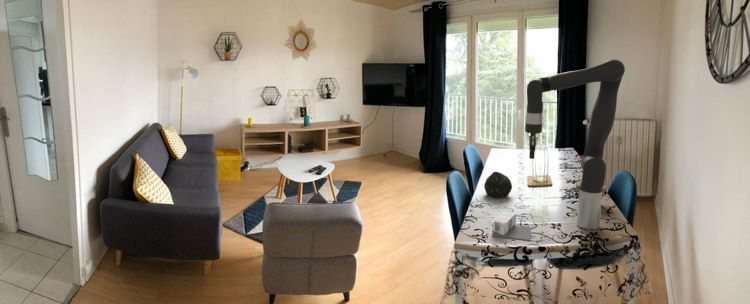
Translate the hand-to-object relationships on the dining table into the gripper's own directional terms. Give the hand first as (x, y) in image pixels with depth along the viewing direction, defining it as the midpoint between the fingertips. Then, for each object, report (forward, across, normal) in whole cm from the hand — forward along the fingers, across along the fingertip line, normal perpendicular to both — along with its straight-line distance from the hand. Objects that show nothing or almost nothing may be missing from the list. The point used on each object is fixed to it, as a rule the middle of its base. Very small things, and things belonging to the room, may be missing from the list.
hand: (531, 158), depth 222 cm
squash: (+29, +27, +16) cm, 43 cm away
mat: (+29, -22, +7) cm, 37 cm away
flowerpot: (+29, +26, -30) cm, 50 cm away
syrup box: (+26, -13, +8) cm, 30 cm away
